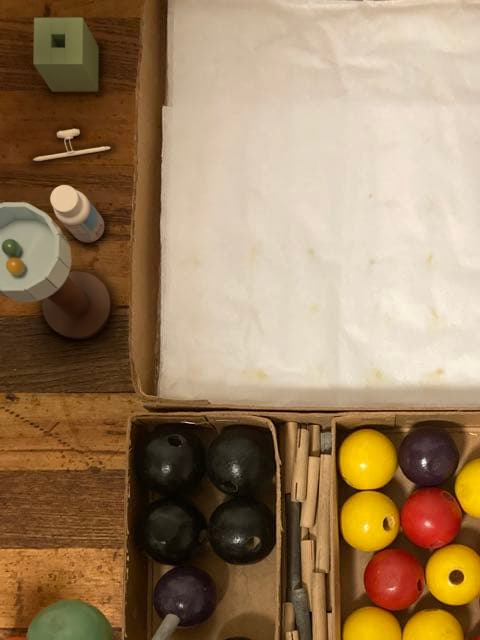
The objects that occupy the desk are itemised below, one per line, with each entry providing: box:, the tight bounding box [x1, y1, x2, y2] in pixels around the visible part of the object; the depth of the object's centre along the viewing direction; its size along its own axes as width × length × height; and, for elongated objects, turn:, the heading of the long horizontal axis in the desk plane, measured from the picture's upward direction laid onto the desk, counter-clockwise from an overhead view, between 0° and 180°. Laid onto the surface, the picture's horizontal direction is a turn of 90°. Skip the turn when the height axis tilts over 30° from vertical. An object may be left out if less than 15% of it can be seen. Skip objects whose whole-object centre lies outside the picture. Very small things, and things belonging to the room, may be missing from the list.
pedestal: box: [41, 270, 113, 340], centre depth 140 cm, size 12×12×21 cm
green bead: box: [2, 239, 21, 257], centre depth 127 cm, size 3×3×3 cm
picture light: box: [32, 128, 111, 162], centre depth 151 cm, size 14×4×2 cm, turn 100°
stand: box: [32, 17, 100, 93], centre depth 149 cm, size 8×8×8 cm
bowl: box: [0, 201, 72, 303], centre depth 127 cm, size 13×13×5 cm
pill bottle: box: [49, 184, 105, 243], centre depth 146 cm, size 6×6×11 cm
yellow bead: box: [6, 257, 25, 275], centre depth 127 cm, size 3×3×3 cm
